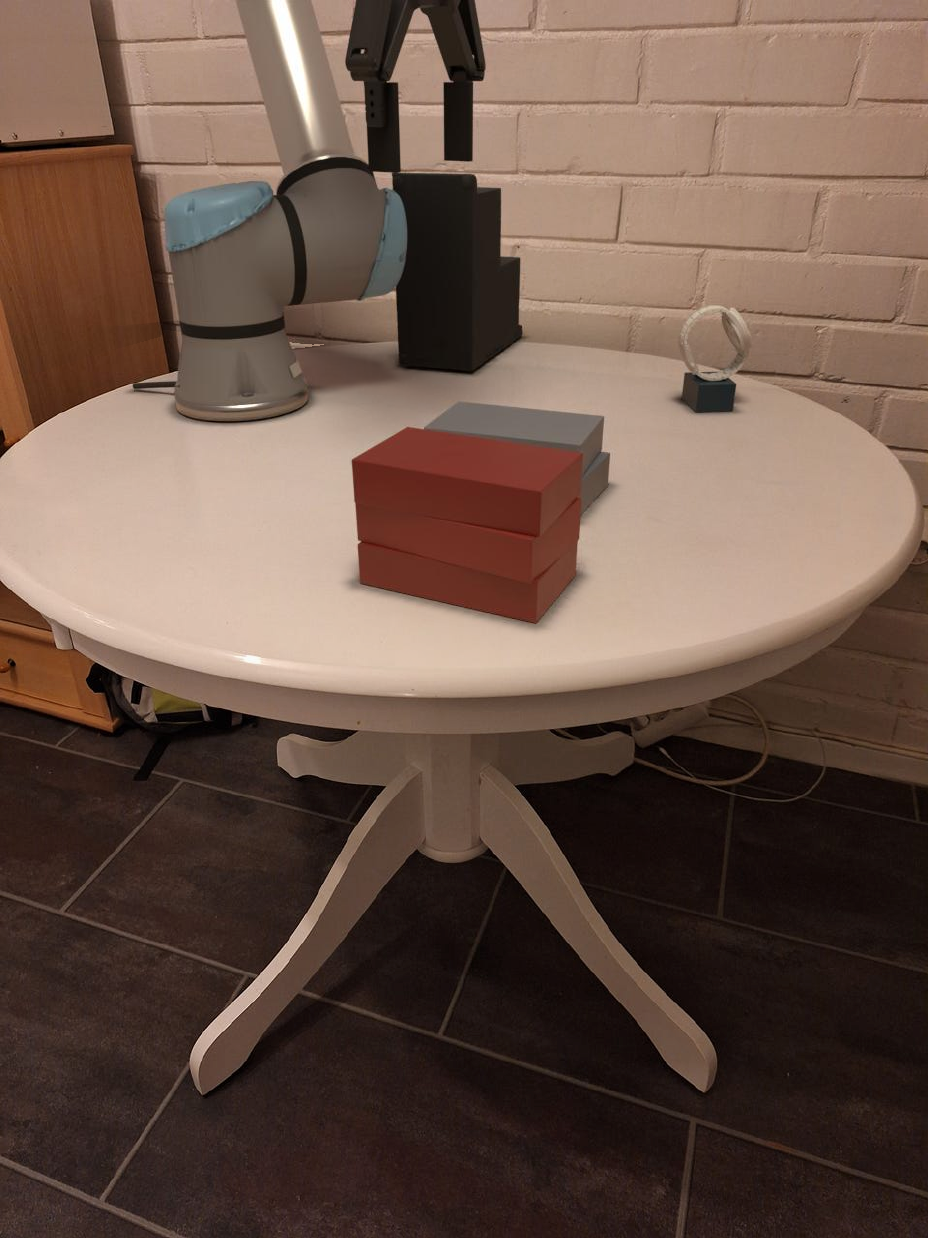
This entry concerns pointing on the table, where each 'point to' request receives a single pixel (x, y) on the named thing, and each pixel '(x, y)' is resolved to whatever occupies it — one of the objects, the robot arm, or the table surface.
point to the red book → (469, 479)
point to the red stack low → (465, 582)
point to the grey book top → (525, 427)
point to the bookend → (454, 274)
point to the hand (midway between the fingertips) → (423, 166)
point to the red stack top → (470, 541)
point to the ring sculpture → (714, 386)
